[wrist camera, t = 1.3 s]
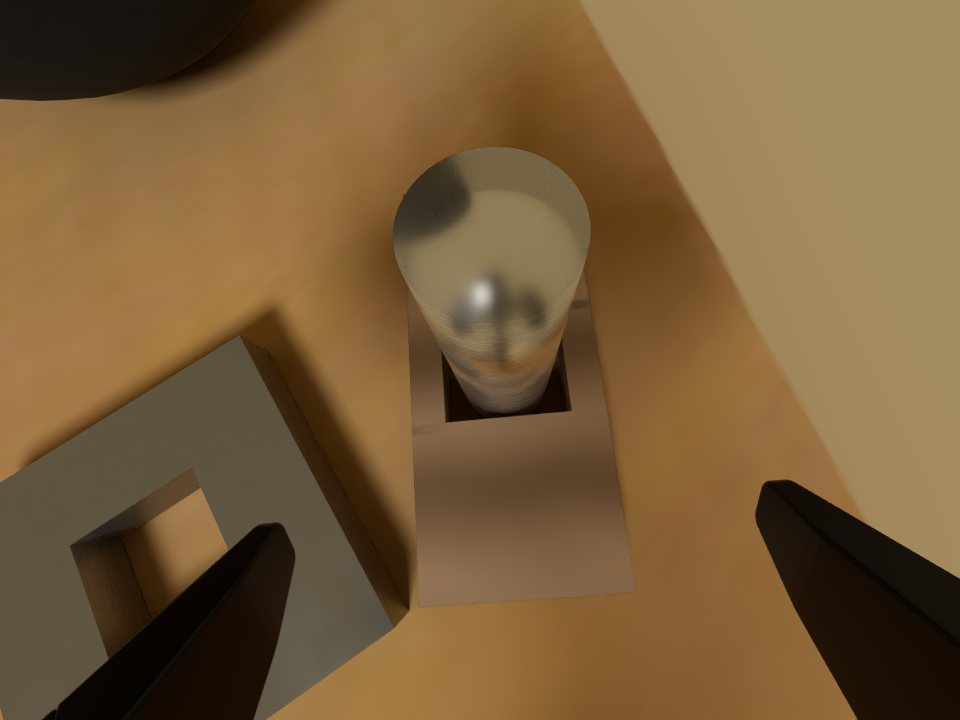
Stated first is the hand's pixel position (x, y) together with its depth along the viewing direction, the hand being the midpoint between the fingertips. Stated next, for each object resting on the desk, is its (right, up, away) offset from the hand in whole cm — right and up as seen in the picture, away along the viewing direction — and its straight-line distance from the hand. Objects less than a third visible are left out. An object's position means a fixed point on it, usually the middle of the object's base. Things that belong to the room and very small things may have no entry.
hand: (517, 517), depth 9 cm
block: (-13, -6, +12) cm, 19 cm away
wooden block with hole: (0, +2, +13) cm, 13 cm away
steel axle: (0, +2, +13) cm, 13 cm away
